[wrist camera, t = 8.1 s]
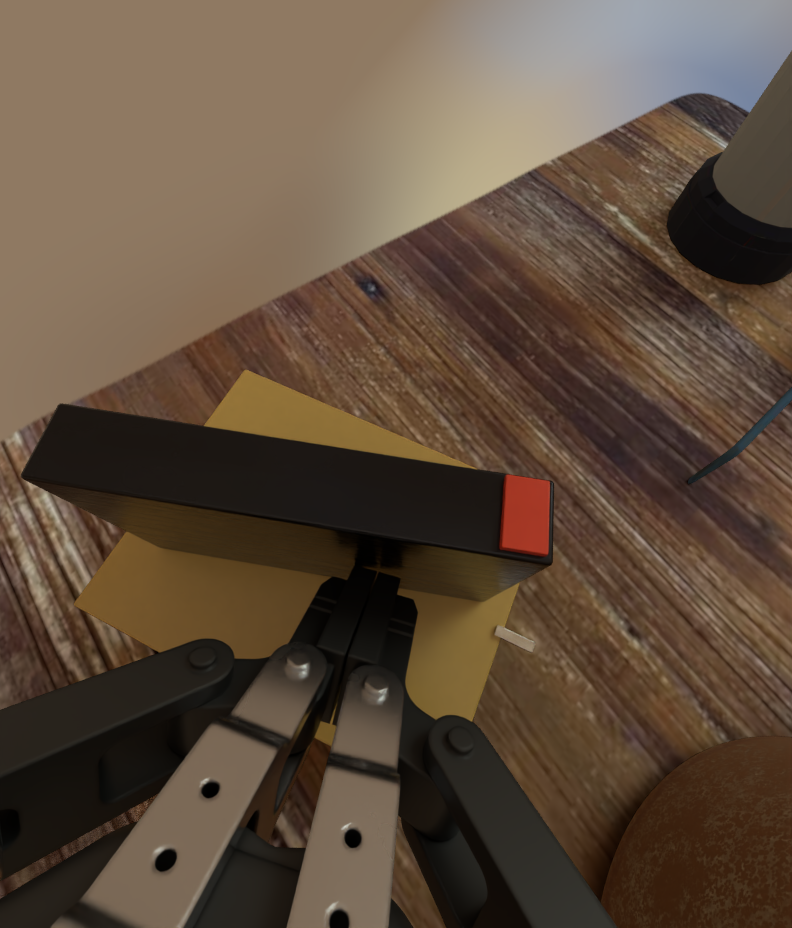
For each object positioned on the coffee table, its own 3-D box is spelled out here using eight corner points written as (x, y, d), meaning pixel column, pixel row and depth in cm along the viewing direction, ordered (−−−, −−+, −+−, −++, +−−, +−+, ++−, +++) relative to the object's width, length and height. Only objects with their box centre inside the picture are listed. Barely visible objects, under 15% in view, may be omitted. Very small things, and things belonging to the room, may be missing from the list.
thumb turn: (158, 548, 16) (8, 473, 10) (177, 497, 17) (50, 395, 11) (484, 602, 16) (558, 563, 9) (488, 548, 17) (559, 476, 10)
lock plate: (96, 601, 19) (43, 590, 16) (242, 395, 23) (222, 356, 20) (460, 798, 16) (477, 829, 13) (549, 530, 20) (577, 509, 17)
